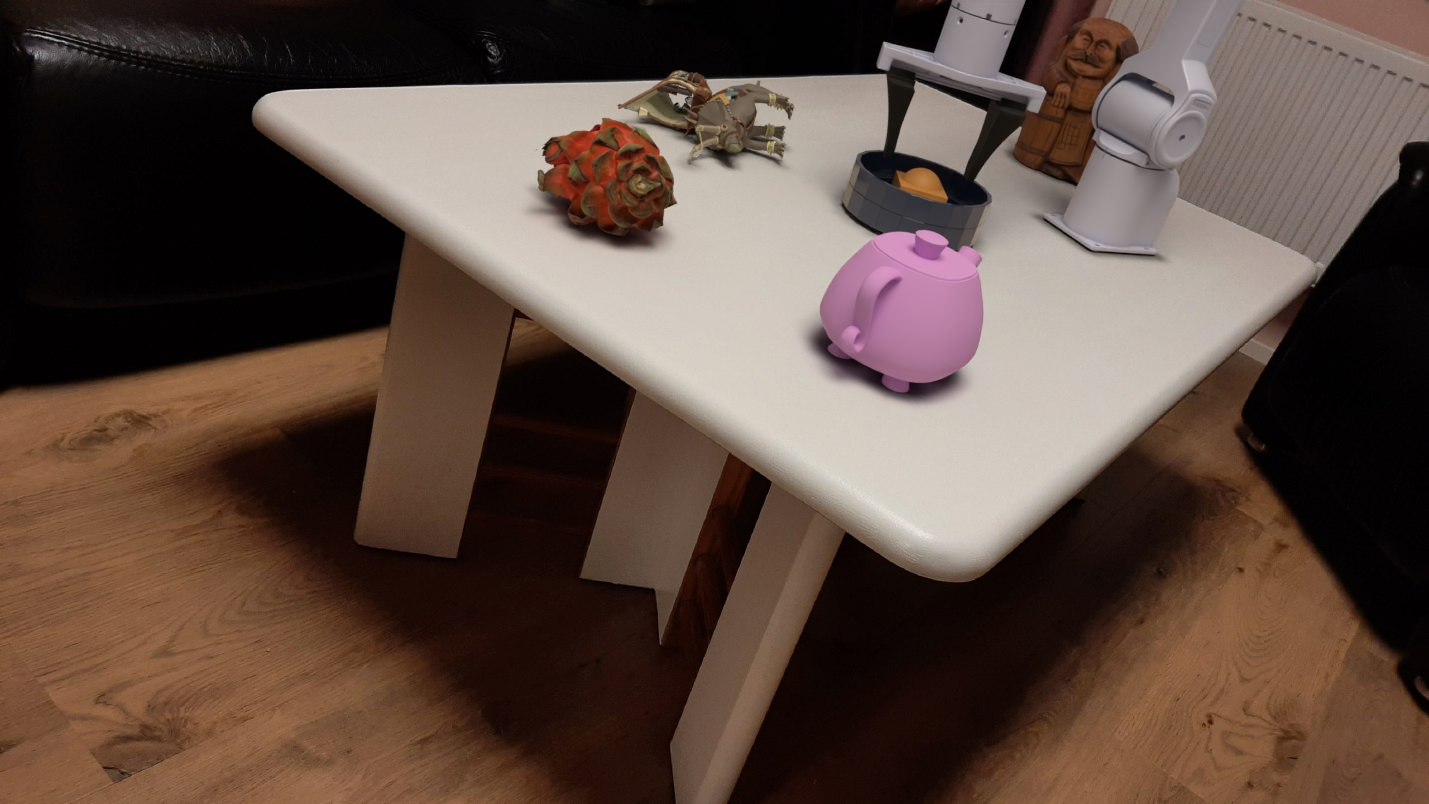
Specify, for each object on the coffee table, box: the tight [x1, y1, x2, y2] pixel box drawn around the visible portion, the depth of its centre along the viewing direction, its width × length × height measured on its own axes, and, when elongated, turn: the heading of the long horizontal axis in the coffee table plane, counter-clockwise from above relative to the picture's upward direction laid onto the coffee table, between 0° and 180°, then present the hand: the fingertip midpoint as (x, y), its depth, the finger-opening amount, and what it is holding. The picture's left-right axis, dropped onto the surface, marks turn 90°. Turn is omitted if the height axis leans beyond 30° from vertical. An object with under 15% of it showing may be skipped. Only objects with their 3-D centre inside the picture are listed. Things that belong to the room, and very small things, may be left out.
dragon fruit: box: [535, 117, 678, 237], centre depth 77 cm, size 8×8×12 cm
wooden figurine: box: [1013, 16, 1140, 185], centre depth 123 cm, size 12×6×18 cm, turn 55°
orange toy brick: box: [891, 168, 948, 203], centre depth 94 cm, size 8×4×5 cm, turn 174°
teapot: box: [819, 230, 984, 393], centre depth 69 cm, size 10×15×9 cm
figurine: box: [617, 69, 795, 160], centre depth 102 cm, size 20×6×17 cm
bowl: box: [841, 149, 993, 251], centre depth 96 cm, size 13×13×4 cm
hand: (927, 167), depth 94 cm, fingers open, 7 cm apart
